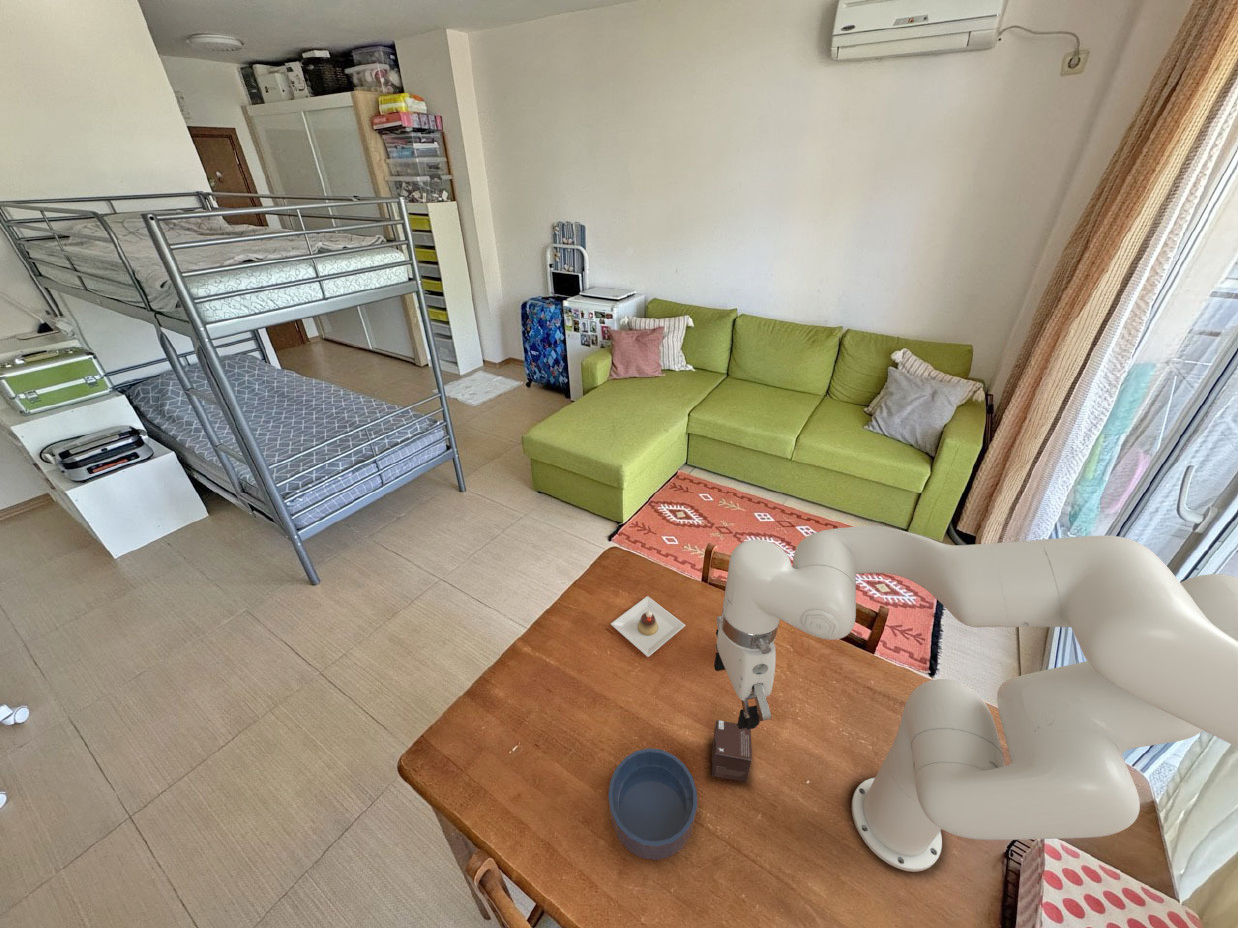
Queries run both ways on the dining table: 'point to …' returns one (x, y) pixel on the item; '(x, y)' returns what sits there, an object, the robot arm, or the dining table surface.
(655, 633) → the dessert
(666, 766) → the bowl
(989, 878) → the dining table surface
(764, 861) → the dining table surface
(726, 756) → the box
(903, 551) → the robot arm
